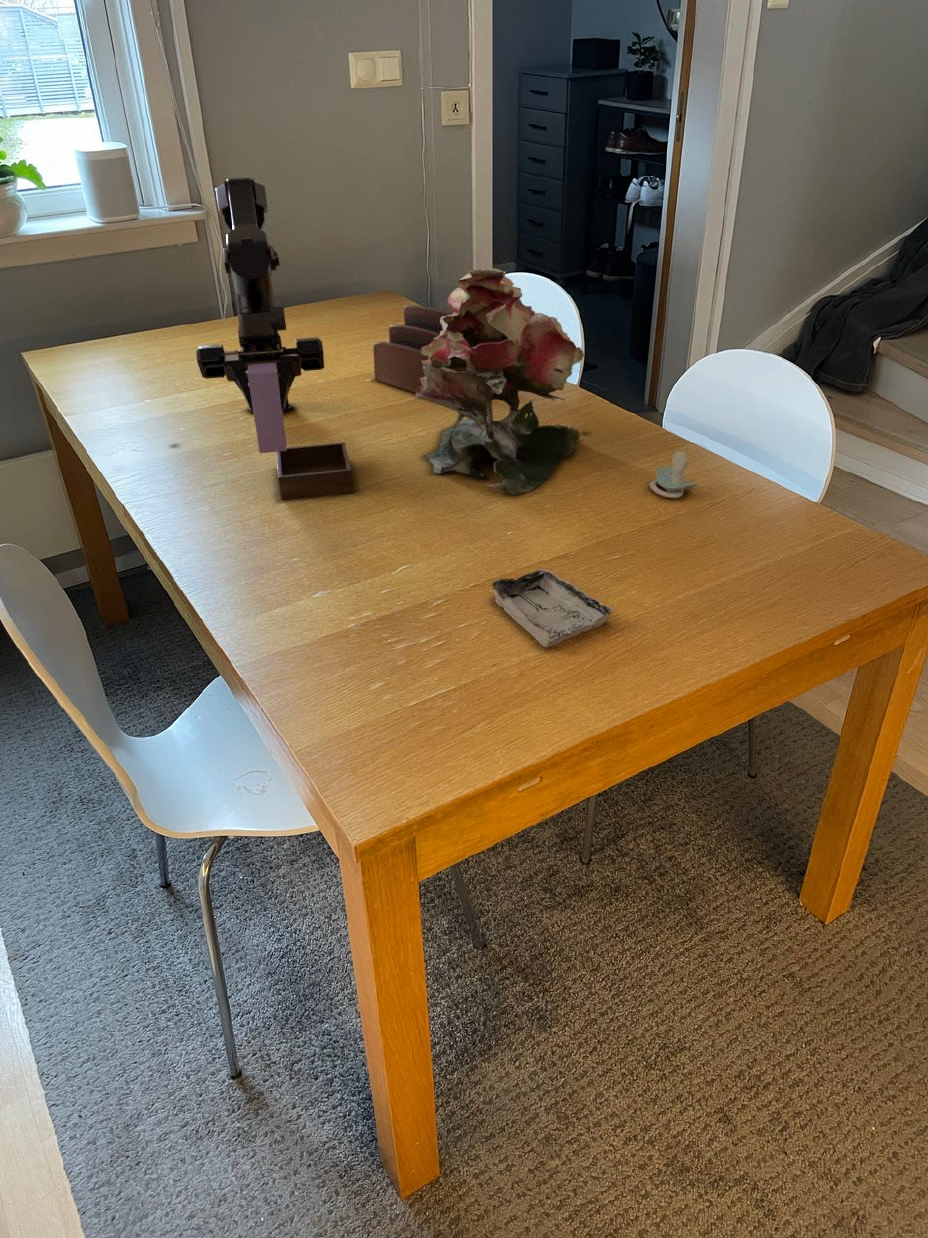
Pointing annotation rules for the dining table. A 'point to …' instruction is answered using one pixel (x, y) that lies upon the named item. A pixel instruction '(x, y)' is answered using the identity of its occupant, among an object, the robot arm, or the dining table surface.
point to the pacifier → (675, 482)
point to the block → (267, 407)
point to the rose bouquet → (498, 382)
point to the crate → (314, 471)
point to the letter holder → (407, 347)
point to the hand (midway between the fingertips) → (267, 409)
